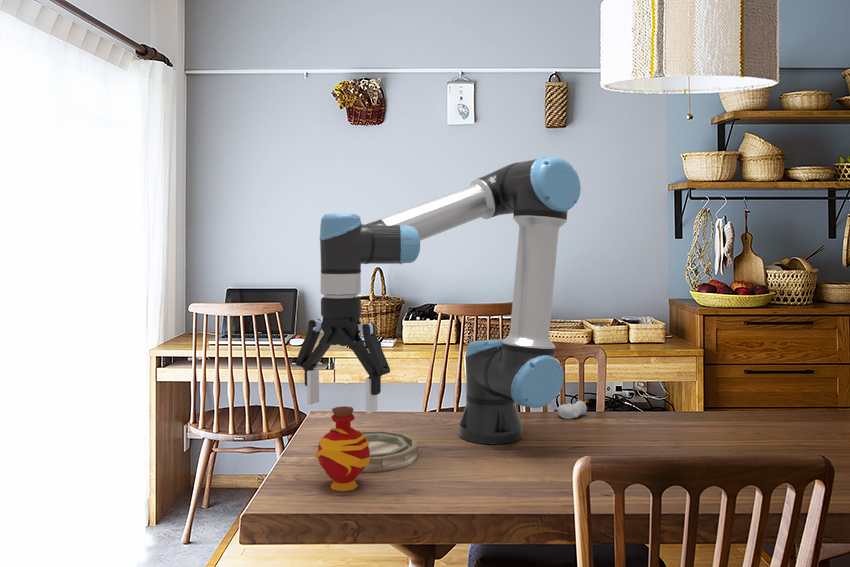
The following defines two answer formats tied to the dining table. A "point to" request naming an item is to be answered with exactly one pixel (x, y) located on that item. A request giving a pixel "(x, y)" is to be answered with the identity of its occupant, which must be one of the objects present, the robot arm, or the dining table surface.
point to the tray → (389, 450)
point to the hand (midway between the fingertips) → (341, 407)
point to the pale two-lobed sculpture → (572, 410)
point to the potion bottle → (343, 451)
